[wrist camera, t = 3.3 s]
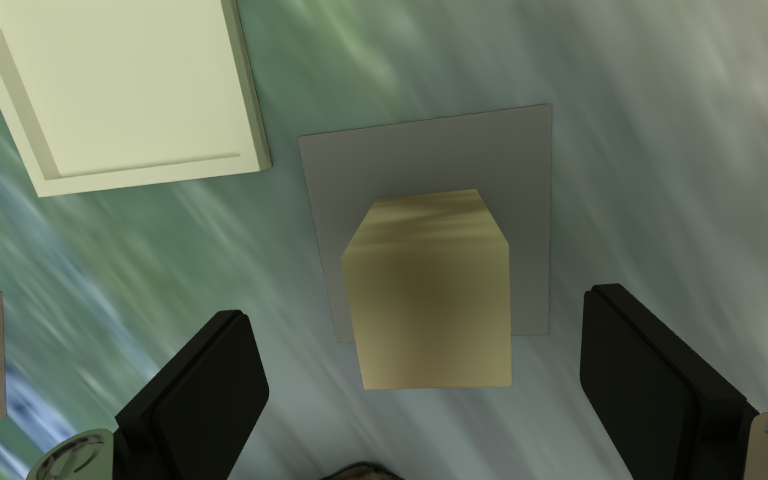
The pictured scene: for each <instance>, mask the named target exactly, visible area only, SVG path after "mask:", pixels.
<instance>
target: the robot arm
mask: <svg viewBox="0 0 768 480" xmlns="http://www.w3.org/2000/svg"><path fill="white" fill-rule="evenodd" d="M580 382H581V386H582V388H583V391H584V392H585V394H586V396H587V398H588V399H589V401H590V403H591V405H592V406H593V408H594V410H595V412H596V414H597V415H598V417H599V419H600V421H601V422H602V424H603V426H604V428H605V429H606V431H607V433H608V435H609V436H610V438H611V440H612V442H613V443H614V445H615V447H616V449H617V451H618V452H619V454H620V456H621V458H622V459H623V461H624V463H625V465H626V466H627V468H628V470H629V472H630V473H631V475H632V477H633V479H634V480H768V412H764V413H762V414H760V413H759V412H758V411H757V410H756V409H755V408H754V407H753V406H751V405H750V404H749V403H748V402H747V401H746V400H747V398H746V397H745V396H743V395H742V394H741V393H740V392H739V391H738V390H737V389H736V388H735V387H734V386H732V385H731V384H730V383H729V382H728V381H727V380H726V379H725V378H724V377H722V376H721V375H720V374H719V373H718V372H717V371H716V370H715V369H714V368H712V367H711V366H710V365H709V364H708V363H707V362H706V361H705V360H704V359H702V358H701V357H700V356H699V355H698V354H697V353H696V352H695V351H694V350H693V349H691V348H690V347H689V346H688V345H687V344H686V343H685V342H684V341H683V340H681V339H680V338H679V337H678V336H677V335H676V334H675V333H674V332H673V331H671V330H670V329H669V328H668V327H667V326H666V325H665V324H664V323H663V322H662V321H660V320H659V319H658V318H657V317H656V316H655V315H654V314H653V313H652V312H650V311H649V310H648V309H647V308H646V307H645V306H644V305H643V304H642V303H640V302H639V301H638V300H637V299H636V298H635V297H634V296H633V295H632V294H630V293H629V292H628V291H627V290H626V289H625V288H624V287H623V286H622V285H620V284H619V283H616V284H602V285H594V286H592V289H591V291H586V292H585V295H584V308H583V326H582V343H581V361H580ZM268 398H269V386H268V383H267V379H266V376H265V372H264V369H263V365H262V362H261V358H260V355H259V351H258V348H257V344H256V341H255V338H254V334H253V331H252V327H251V324H250V320H249V317H248V316H247V315H246V314H243V313H242V311H241V310H225V311H219V312H217V313H216V314H215V315H214V316H213V317H212V318H211V319H210V320H209V321H208V322H207V323H206V324H205V325H204V326H203V327H202V328H201V329H200V331H199V332H198V333H197V334H196V335H195V336H194V337H193V338H192V339H191V340H190V341H189V342H188V343H187V344H186V345H185V346H184V347H183V348H182V349H181V350H180V351H179V352H178V353H177V354H176V355H175V356H174V357H173V358H172V359H171V360H170V361H169V362H168V363H167V364H166V365H165V366H164V367H163V368H162V369H161V370H160V371H159V372H158V373H157V374H156V375H155V376H154V377H153V379H152V380H151V381H150V382H149V383H148V384H147V385H146V386H145V387H144V388H143V389H142V390H141V391H140V392H139V393H138V394H137V395H136V396H135V397H134V398H133V399H132V400H131V401H130V402H129V403H128V404H127V405H126V406H125V407H124V408H123V409H122V410H121V411H120V412H119V413H118V414H117V415H116V416H115V419H116V421H117V423H118V425H119V428H118V429H117V430H116V431H115V432H114V433H113V434H112V432H111V431H109V430H108V429H100V428H98V429H93V430H88V431H85V432H82V433H80V434H77V435H75V436H73V437H71V438H69V439H67V440H65V441H63V442H61V443H60V444H58V445H57V446H56V447H54V448H53V449H51V450H50V451H49V452H47V453H46V454H45V455H44V456H43V457H42V458H40V459H39V460H38V461H37V463H36V464H35V465H34V466H33V467H32V468H31V470H30V472H29V474H28V476H27V478H26V480H227V478H228V476H229V474H230V472H231V470H232V469H233V467H234V465H235V463H236V461H237V459H238V457H239V455H240V453H241V451H242V449H243V447H244V445H245V443H246V441H247V440H248V438H249V436H250V434H251V432H252V430H253V428H254V426H255V424H256V422H257V420H258V418H259V416H260V414H261V412H262V411H263V409H264V407H265V405H266V403H267V401H268Z"/></svg>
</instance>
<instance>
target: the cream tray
mask: <svg viewBox="0 0 768 480" xmlns="http://www.w3.org/2000/svg"><path fill="white" fill-rule="evenodd" d="M0 109H1V111H2V113H3V116H4V118H5V120H6V123H7V125H8V127H9V130H10V132H11V134H12V137H13V139H14V141H15V144H16V146H17V148H18V150H19V153H20V155H21V157H22V160H23V162H24V164H25V167H26V169H27V171H28V174H29V176H30V178H31V181H32V183H33V185H34V187H35V190H36V192H37V194H38V197H45V196H54V195H62V194H70V193H79V192H87V191H96V190H104V189H113V188H121V187H129V186H138V185H146V184H155V183H163V182H172V181H180V180H189V179H197V178H205V177H214V176H222V175H231V174H239V173H248V172H256V171H261V170H264V169H267V168H270V167H272V162H271V158H270V153H269V149H268V144H267V140H266V135H265V131H264V126H263V122H262V117H261V113H260V108H259V104H258V99H257V95H256V90H255V86H254V81H253V77H252V72H251V68H250V63H249V59H248V54H247V50H246V45H245V41H244V36H243V31H242V27H241V22H240V18H239V13H238V9H237V4H236V0H0Z"/></svg>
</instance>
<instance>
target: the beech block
mask: <svg viewBox="0 0 768 480" xmlns="http://www.w3.org/2000/svg"><path fill="white" fill-rule="evenodd" d="M341 262H342V268H343V274H344V279H345V285H346V291H347V296H348V302H349V307H350V313H351V319H352V324H353V330H354V336H355V341H356V347H357V353H358V358H359V364H360V369H361V375H362V381H363V386H364V390H366V389H410V388H454V387H498V386H512V367H511V321H510V275H509V244H508V242H507V241H506V239H505V237H504V235H503V234H502V232H501V230H500V229H499V227H498V225H497V224H496V222H495V220H494V219H493V217H492V215H491V213H490V212H489V210H488V208H487V207H486V205H485V203H484V202H483V200H482V198H481V197H480V195H479V193H478V191H477V190H476V189H469V190H459V191H449V192H439V193H430V194H420V195H410V196H400V197H390V198H380V199H376V200H375V201H374V203H373V205H372V206H371V208H370V210H369V211H368V213H367V215H366V216H365V218H364V220H363V221H362V223H361V225H360V226H359V228H358V230H357V231H356V233H355V235H354V236H353V238H352V240H351V241H350V243H349V245H348V246H347V248H346V250H345V251H344V253H343V255H342V256H341Z"/></svg>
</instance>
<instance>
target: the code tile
mask: <svg viewBox="0 0 768 480" xmlns="http://www.w3.org/2000/svg"><path fill="white" fill-rule="evenodd" d="M551 136H552V104H544V105H536V106H529V107H521V108H513V109H506V110H498V111H491V112H483V113H475V114H468V115H460V116H452V117H445V118H437V119H430V120H422V121H414V122H407V123H399V124H391V125H384V126H376V127H369V128H361V129H353V130H346V131H338V132H331V133H323V134H315V135H308V136H300V137H297V138H298V143H299V149H300V154H301V159H302V164H303V169H304V174H305V179H306V184H307V189H308V195H309V200H310V205H311V210H312V215H313V220H314V225H315V230H316V235H317V241H318V246H319V251H320V256H321V261H322V266H323V271H324V276H325V281H326V287H327V292H328V297H329V302H330V307H331V312H332V317H333V322H334V327H335V333H336V338H337V343H351V342H356V341H355V336H354V330H353V324H352V319H351V313H350V307H349V302H348V296H347V291H346V285H345V279H344V274H343V268H342V262H341V256H342V255H343V253H344V251H345V250H346V248H347V246H348V245H349V243H350V241H351V240H352V238H353V236H354V235H355V233H356V231H357V230H358V228H359V226H360V225H361V223H362V221H363V220H364V218H365V216H366V215H367V213H368V211H369V210H370V208H371V206H372V205H373V203H374V201H375V200H376V199H380V198H390V197H400V196H410V195H420V194H430V193H439V192H449V191H459V190H469V189H476V190H477V191H478V193H479V195H480V197H481V198H482V200H483V202H484V203H485V205H486V207H487V208H488V210H489V212H490V213H491V215H492V217H493V219H494V220H495V222H496V224H497V225H498V227H499V229H500V230H501V232H502V234H503V235H504V237H505V239H506V241H507V242H508V244H509V275H510V321H511V336H516V335H540V334H548V329H549V264H550V200H551Z"/></svg>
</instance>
